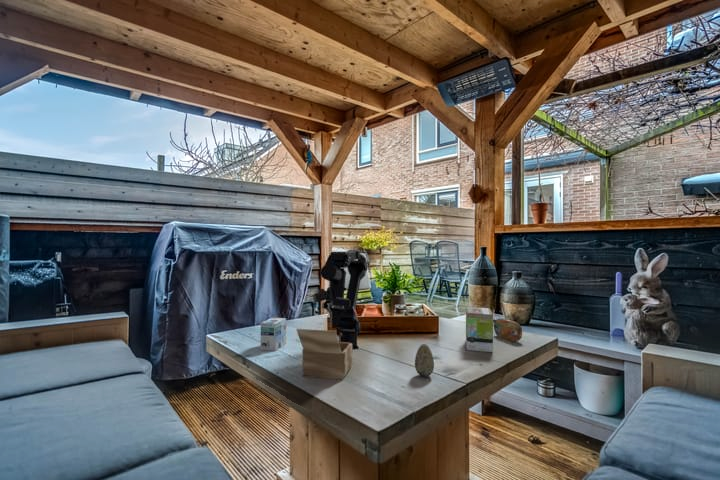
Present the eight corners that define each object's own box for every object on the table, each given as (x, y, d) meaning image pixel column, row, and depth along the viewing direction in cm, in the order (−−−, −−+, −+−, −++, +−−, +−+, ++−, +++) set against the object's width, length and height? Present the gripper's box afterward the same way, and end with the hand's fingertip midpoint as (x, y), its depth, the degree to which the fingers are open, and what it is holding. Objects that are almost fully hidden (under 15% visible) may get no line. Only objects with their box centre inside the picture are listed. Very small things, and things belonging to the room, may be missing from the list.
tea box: (494, 352, 132) (493, 313, 132) (466, 350, 135) (466, 312, 135) (490, 342, 147) (490, 307, 147) (465, 340, 149) (465, 306, 150)
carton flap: (296, 328, 102) (296, 329, 102) (335, 330, 100) (335, 331, 100) (304, 350, 109) (304, 351, 108) (341, 352, 106) (341, 353, 106)
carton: (314, 363, 120) (314, 340, 120) (353, 366, 117) (353, 342, 117) (301, 376, 109) (301, 350, 109) (344, 379, 106) (344, 352, 106)
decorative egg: (424, 381, 104) (424, 348, 104) (410, 375, 109) (410, 343, 109) (438, 377, 108) (438, 344, 108) (424, 371, 113) (423, 340, 113)
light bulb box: (275, 351, 135) (275, 323, 135) (259, 350, 136) (259, 322, 136) (286, 343, 145) (286, 317, 145) (272, 342, 147) (272, 317, 147)
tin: (493, 335, 158) (493, 316, 158) (499, 334, 159) (499, 316, 159) (517, 344, 144) (517, 323, 144) (523, 343, 145) (523, 323, 145)
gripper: (310, 285, 133) (306, 327, 129) (321, 278, 116) (316, 326, 112) (338, 288, 136) (335, 329, 132) (352, 282, 119) (349, 329, 115)
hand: (333, 328), depth 122 cm, fingers closed
